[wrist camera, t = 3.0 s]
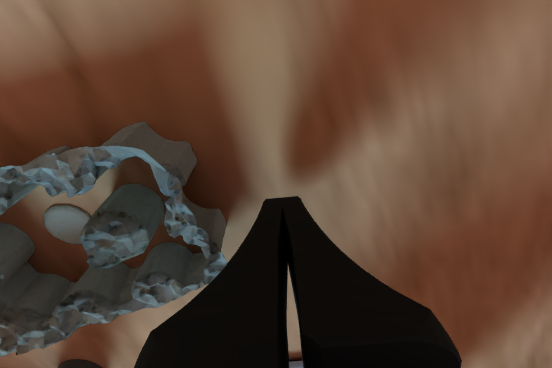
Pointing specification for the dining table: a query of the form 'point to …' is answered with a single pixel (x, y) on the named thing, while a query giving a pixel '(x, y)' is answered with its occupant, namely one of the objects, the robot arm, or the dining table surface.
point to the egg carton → (103, 240)
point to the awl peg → (78, 364)
